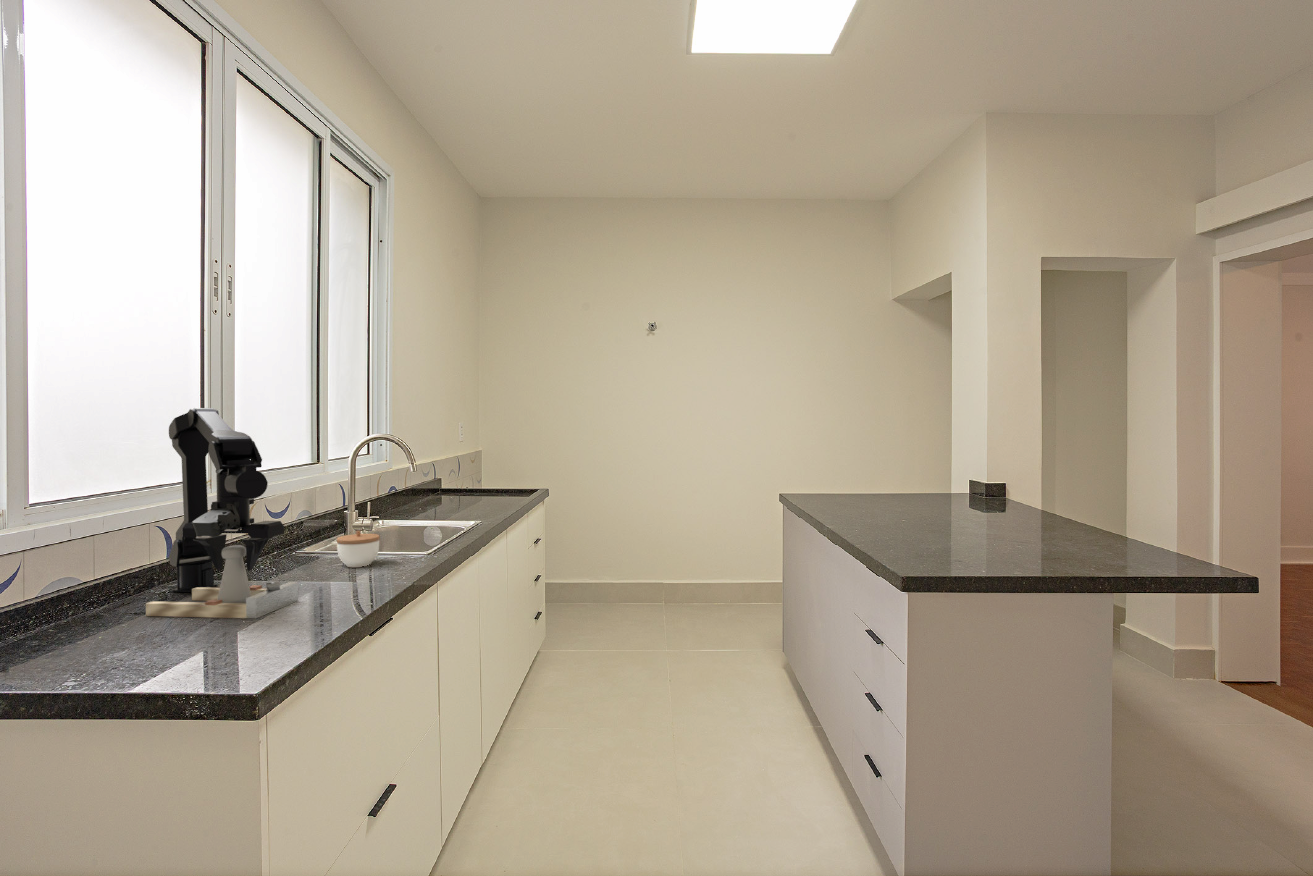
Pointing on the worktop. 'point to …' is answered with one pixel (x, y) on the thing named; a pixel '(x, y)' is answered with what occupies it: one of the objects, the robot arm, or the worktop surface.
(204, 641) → the worktop surface
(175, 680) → the worktop surface
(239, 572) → the salt shaker
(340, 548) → the lidded jar
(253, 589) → the wooden tray
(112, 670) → the worktop surface
